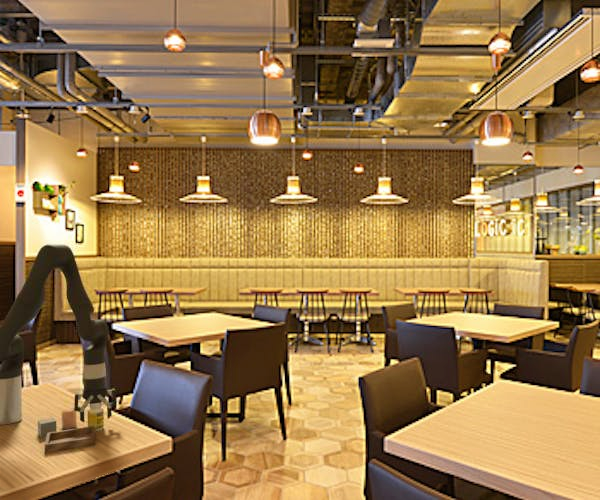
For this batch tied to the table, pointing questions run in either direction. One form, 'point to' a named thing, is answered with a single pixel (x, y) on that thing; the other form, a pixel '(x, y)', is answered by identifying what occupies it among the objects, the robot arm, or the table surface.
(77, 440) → the walnut tray
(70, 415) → the terracotta cylinder
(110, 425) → the table surface
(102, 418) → the supplement bottle
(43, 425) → the blue-grey cube
